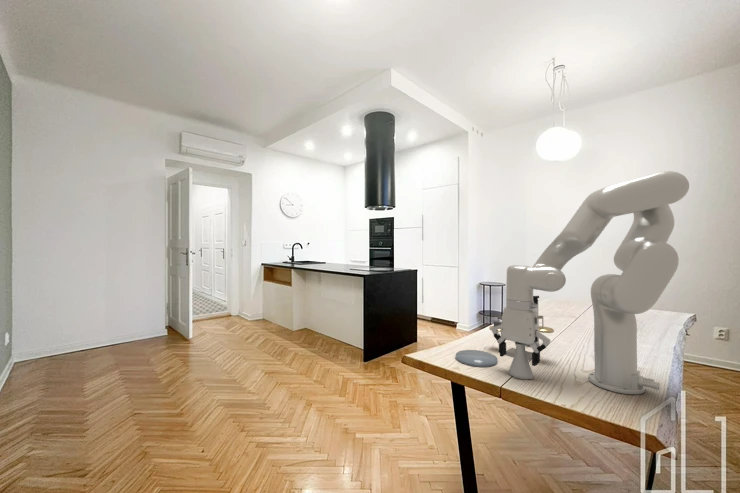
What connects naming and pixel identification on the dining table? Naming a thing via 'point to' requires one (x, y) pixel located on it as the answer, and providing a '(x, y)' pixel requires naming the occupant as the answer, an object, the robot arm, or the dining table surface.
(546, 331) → the tipped balance
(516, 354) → the flask
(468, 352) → the slate dish
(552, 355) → the dining table surface
